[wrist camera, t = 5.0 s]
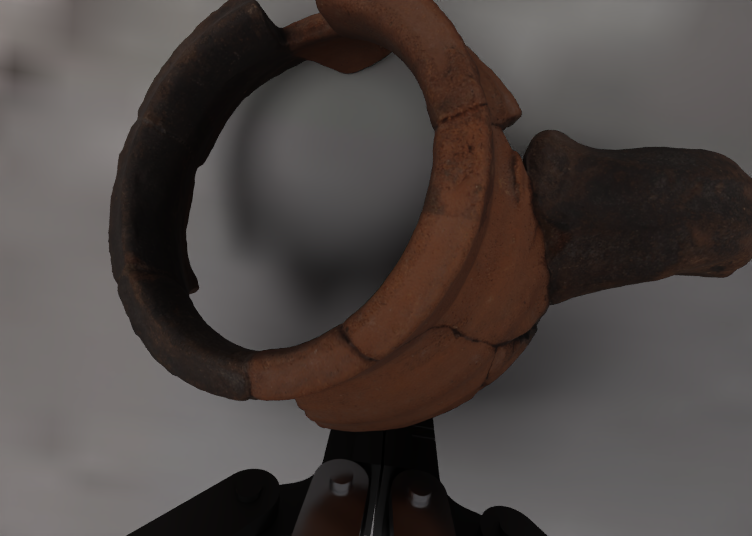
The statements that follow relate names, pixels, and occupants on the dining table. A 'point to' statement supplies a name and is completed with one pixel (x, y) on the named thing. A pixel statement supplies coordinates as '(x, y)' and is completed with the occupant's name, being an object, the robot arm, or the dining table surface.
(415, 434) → the robot arm
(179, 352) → the pottery mug
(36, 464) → the dining table surface
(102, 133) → the dining table surface
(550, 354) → the dining table surface
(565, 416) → the dining table surface
